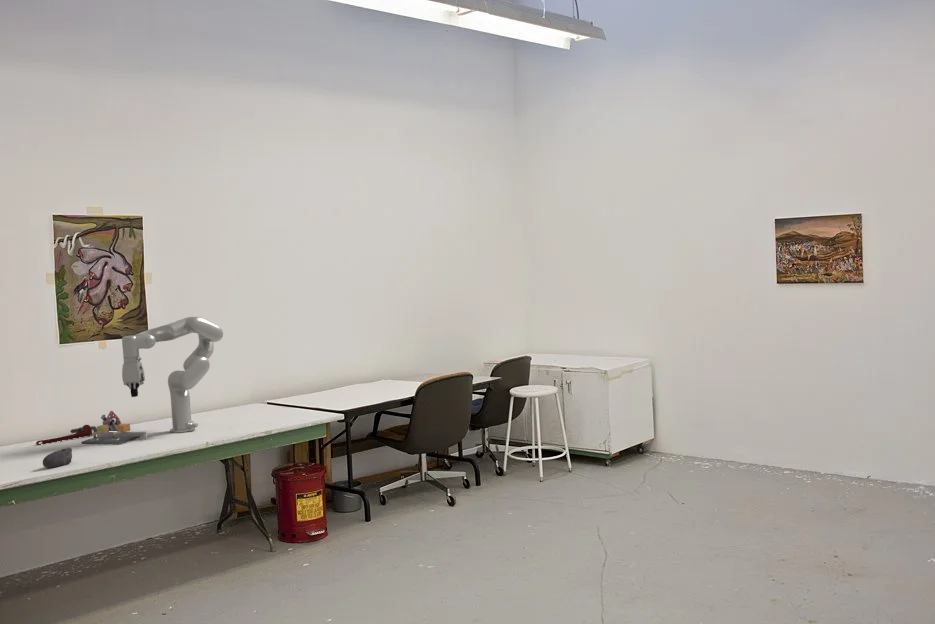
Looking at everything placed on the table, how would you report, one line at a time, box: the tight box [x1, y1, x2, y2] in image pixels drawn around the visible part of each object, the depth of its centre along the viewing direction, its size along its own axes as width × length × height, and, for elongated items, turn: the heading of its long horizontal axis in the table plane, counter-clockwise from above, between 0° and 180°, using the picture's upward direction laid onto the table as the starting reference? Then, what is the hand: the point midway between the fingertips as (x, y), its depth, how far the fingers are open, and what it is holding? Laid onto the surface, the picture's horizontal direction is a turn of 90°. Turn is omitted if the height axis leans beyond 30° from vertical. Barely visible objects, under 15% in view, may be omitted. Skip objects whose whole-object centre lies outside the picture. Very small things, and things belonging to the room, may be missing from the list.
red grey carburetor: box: [100, 410, 122, 431], centre depth 464 cm, size 11×11×12 cm
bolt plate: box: [80, 424, 147, 445], centre depth 433 cm, size 27×16×7 cm, turn 76°
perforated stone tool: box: [42, 447, 73, 469], centre depth 379 cm, size 15×5×7 cm, turn 152°
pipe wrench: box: [35, 424, 97, 446], centre depth 443 cm, size 7×2×30 cm
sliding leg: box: [112, 423, 131, 438], centre depth 434 cm, size 4×11×5 cm, turn 167°
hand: (134, 396), depth 435 cm, fingers closed
